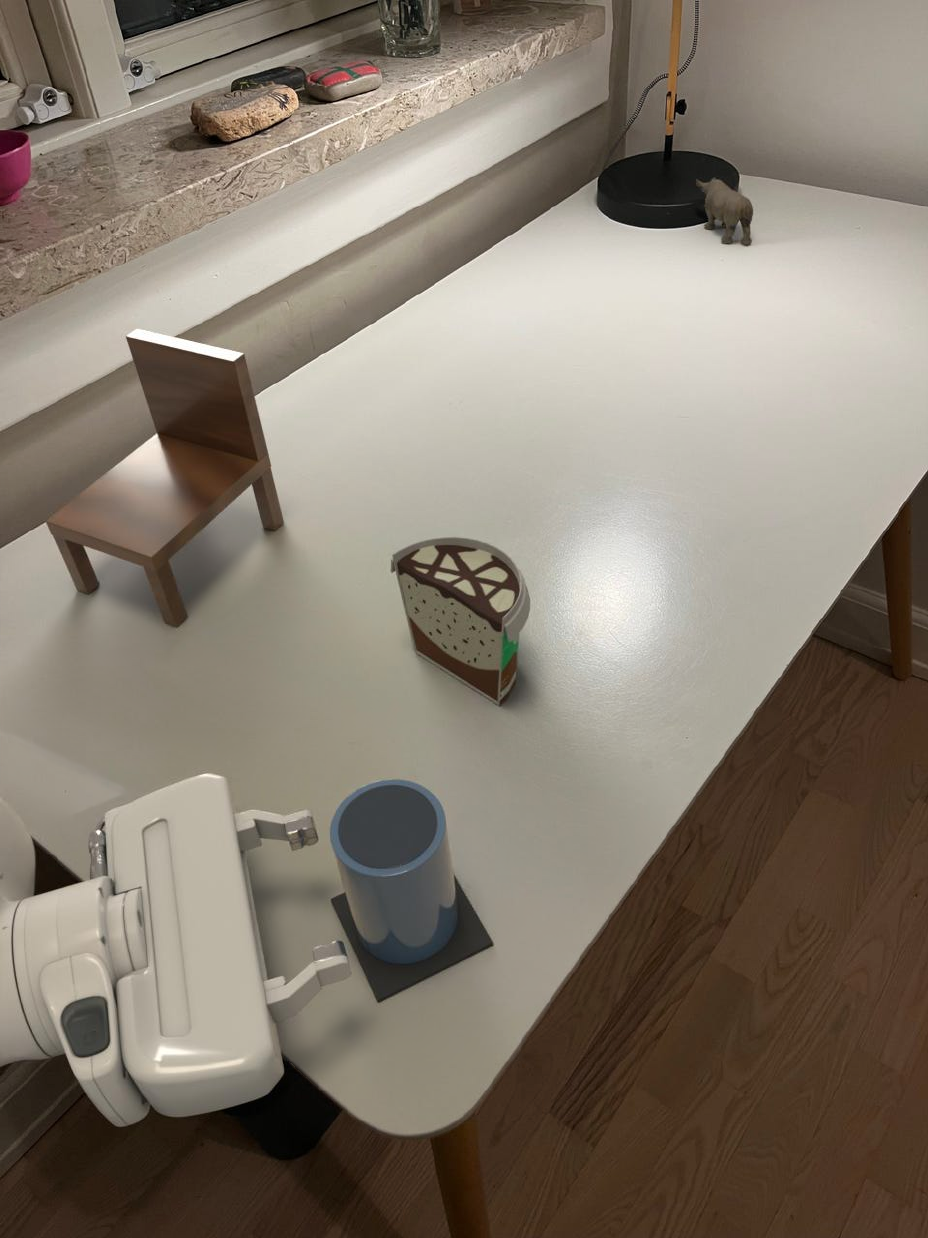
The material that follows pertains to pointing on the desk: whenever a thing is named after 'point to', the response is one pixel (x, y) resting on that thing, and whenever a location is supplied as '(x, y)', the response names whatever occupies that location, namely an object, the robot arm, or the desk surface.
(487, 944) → the mat
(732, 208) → the rhino figurine
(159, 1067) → the robot arm
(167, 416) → the miniature wooden chair
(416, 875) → the cup
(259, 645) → the desk surface
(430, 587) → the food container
